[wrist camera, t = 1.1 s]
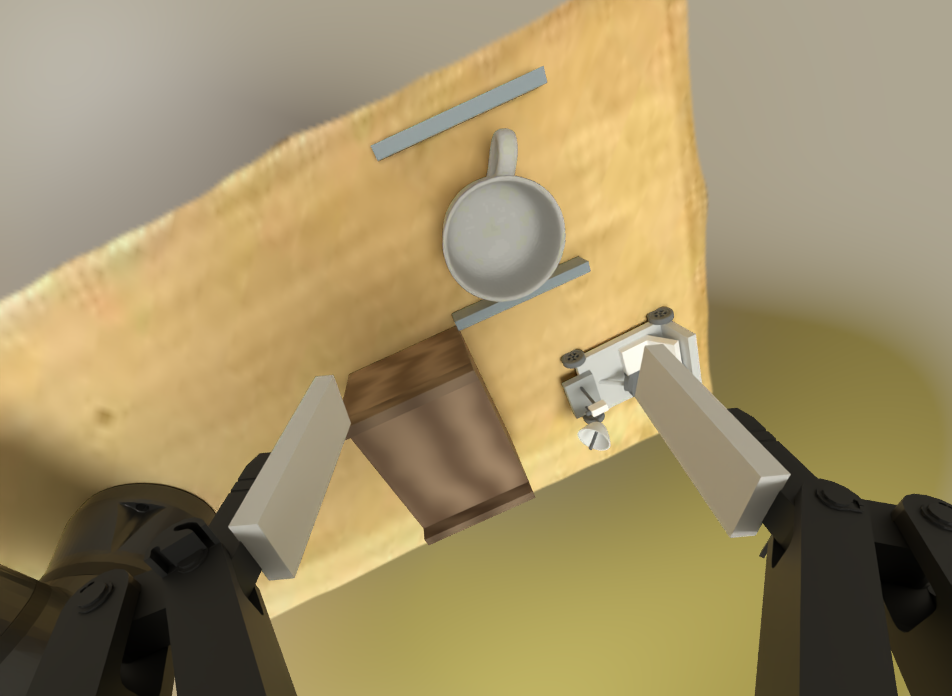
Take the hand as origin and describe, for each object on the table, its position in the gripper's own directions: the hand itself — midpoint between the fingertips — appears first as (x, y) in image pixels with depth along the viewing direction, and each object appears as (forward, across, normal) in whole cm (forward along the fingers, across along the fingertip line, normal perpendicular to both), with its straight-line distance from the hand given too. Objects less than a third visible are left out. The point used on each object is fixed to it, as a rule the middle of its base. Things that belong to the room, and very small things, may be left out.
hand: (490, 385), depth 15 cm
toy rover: (+28, -18, +20) cm, 39 cm away
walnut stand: (+24, +6, +21) cm, 32 cm away
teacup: (+26, -2, -2) cm, 27 cm away
